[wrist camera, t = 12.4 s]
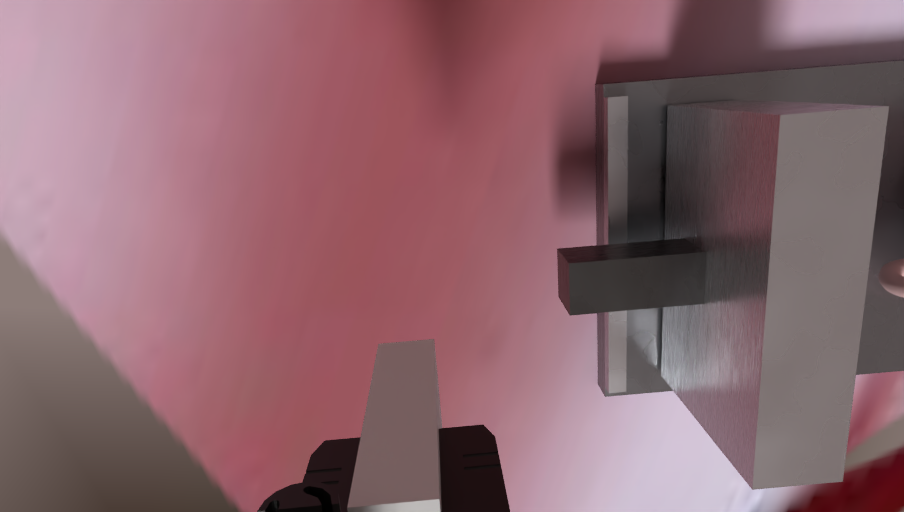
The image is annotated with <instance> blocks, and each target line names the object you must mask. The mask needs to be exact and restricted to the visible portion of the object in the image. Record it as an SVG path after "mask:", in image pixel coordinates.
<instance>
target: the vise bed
mask: <svg viewBox="0 0 904 512" xmlns="http://www.w3.org/2000/svg"><path fill="white" fill-rule="evenodd" d="M595 93H596V207H597V245H608V244H620V243H632V242H644V241H656V240H664V236H665V194H666V152H667V110H668V105H679V104H691V103H704V102H716V101H729V100H741V99H742V100H764V101H785V102H807V103H828V104H850V105H872V106H889V110H888V118H887V126H886V134H885V142H884V151H883V159H882V167H881V175H880V183H879V191H878V199H877V207H876V215H875V223H874V232H873V240H872V248H871V256H870V264H869V272H868V280H867V288H866V296H865V304H864V312H863V321H862V329H861V337H860V345H859V353H858V361H857V369H856V375H859V374H870V373H882V372H893V371H904V298H903V297H899V296H897V295H894V294H892V293H890V292H888V291H887V290H885V289H884V288H883V286H882V285H881V283H880V282H879V280H878V275H879V272H880V270H881V268H882V267H883V266H884V265H885V264H887V263H889V262H891V261H895V260H899V259H904V60H898V61H885V62H873V63H860V64H847V65H835V66H822V67H809V68H797V69H784V70H772V71H759V72H746V73H734V74H721V75H708V76H696V77H683V78H670V79H658V80H645V81H633V82H620V83H607V84H595ZM662 321H663V307H662V308H651V309H639V310H627V311H615V312H604V313H597V322H598V385H599V387H600V389H601V390H602V392H603V394H604V396H605V397H606V396H618V395H629V394H641V393H652V392H664V391H673V390H672V388H671V387H670V386H669V385H668V383H667V382H666V381H665V380H664V378H663V377H662V376H661V363H662Z"/></svg>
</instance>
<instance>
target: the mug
mask: <svg viewBox="0 0 904 512" xmlns="http://www.w3.org/2000/svg"><path fill="white" fill-rule="evenodd" d="M878 280H879V282H880V283H881V285H882V286H883V288H884V289H885V290H887V291H888V292H890V293H892V294H894V295H897V296H899V297H903V298H904V259H899V260H895V261H891V262H889V263H887V264H885V265H884V266H883V267H882V268H881V270H880V272H879V275H878Z"/></svg>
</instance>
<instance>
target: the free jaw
mask: <svg viewBox="0 0 904 512" xmlns="http://www.w3.org/2000/svg"><path fill="white" fill-rule="evenodd" d="M888 110H889V106H872V105H850V104H828V103H807V102H785V101H764V100H742V99H741V100H729V101H716V102H704V103H691V104H679V105H668V110H667V152H666V194H665V236H664V240H656V241H644V242H632V243H620V244H608V245H596V246H584V247H572V248H560V249H557V257H558V293H559V298H560V300H561V302H562V303H563V305H564V306H565V308H566V310H567V311H568V313H569V315H580V314H592V313H604V312H615V311H627V310H639V309H651V308H662V307H663V321H662V363H661V376H662V377H663V378H664V380H665V381H666V382H667V383H668V385H669V386H670V387H671V388H672V390H673V391H674V392H675V393H676V395H677V396H678V397H679V398H680V400H681V401H682V402H683V403H684V405H685V406H686V407H687V408H688V410H689V411H690V412H691V413H692V415H693V416H694V417H695V418H696V420H697V421H698V422H699V423H700V425H701V426H702V427H703V428H704V430H705V431H706V432H707V433H708V435H709V436H710V437H711V438H712V440H713V441H714V442H715V443H716V445H717V446H718V447H719V448H720V450H721V451H722V452H723V453H724V455H725V456H726V457H727V458H728V460H729V461H730V462H731V463H732V465H733V466H734V467H735V468H736V470H737V471H738V472H739V473H740V475H741V476H742V477H743V478H744V480H745V481H746V482H747V483H748V485H749V486H750V487H751V488H752V490H753V489H764V488H775V487H786V486H797V485H809V484H820V483H831V482H842V481H843V474H844V466H845V458H846V450H847V442H848V434H849V426H850V418H851V410H852V402H853V393H854V385H855V377H856V369H857V361H858V353H859V345H860V337H861V329H862V321H863V312H864V304H865V296H866V288H867V280H868V272H869V264H870V256H871V248H872V240H873V232H874V223H875V215H876V207H877V199H878V191H879V183H880V175H881V167H882V159H883V151H884V142H885V134H886V126H887V118H888Z"/></svg>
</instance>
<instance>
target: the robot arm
mask: <svg viewBox="0 0 904 512" xmlns="http://www.w3.org/2000/svg"><path fill="white" fill-rule="evenodd" d="M257 512H510V509H509V504H508V499H507V494H506V489H505V484H504V479H503V474H502V469H501V464H500V459H499V455H498V449H497V444H496V439H495V436H494V435H493V434H492V433H491V432H490V431H489V430H488V429H487V428H486V427H485V426H484V425H474V426H463V427H452V428H442V420H441V409H440V398H439V387H438V376H437V365H436V354H435V343H434V339H429V340H417V341H406V342H394V343H383V344H378V349H377V354H376V359H375V364H374V370H373V375H372V380H371V385H370V391H369V396H368V401H367V406H366V412H365V417H364V422H363V427H362V433H361V437H360V438H349V439H337V440H326V441H324V442H323V443H322V444H321V445H320V446H319V447H318V448H317V450H316V451H315V452H314V453H313V454H312V455H311V457H310V460H309V463H308V467H307V470H306V474H305V476H304V479H303V482H302V483H298V484H293V485H290V486H288V487H285V488H283V489H281V490H279V491H276V492H275V493H274V494H273V495H271V496H270V497H269V498H267V499H266V500H265V501H264V502H263V504H262V505H261V507H260V508H259V510H258V511H257Z"/></svg>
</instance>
